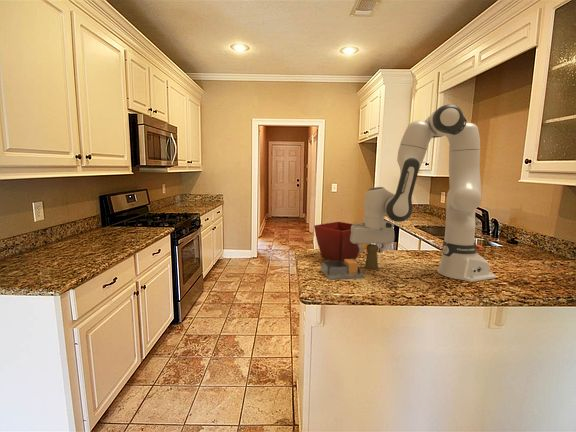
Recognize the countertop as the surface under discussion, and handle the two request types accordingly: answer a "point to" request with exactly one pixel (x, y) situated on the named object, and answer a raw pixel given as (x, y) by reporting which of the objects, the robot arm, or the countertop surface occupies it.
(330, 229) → the plant pot
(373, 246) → the cork
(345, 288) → the countertop surface
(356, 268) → the bracket block
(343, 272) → the grey tray with frame
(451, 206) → the robot arm
